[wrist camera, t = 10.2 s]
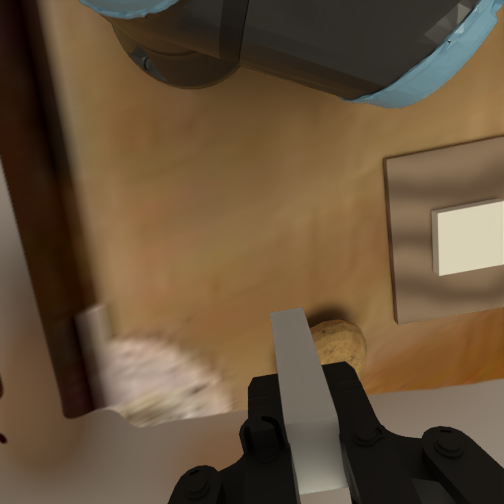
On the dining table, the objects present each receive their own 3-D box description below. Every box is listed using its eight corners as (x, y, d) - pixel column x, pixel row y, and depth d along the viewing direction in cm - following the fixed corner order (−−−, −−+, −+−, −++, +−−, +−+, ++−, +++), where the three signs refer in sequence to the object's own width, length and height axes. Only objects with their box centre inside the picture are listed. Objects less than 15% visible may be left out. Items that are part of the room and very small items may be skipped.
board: (382, 159, 43) (386, 159, 42) (520, 132, 42) (527, 132, 41) (394, 320, 50) (398, 325, 49) (512, 300, 49) (519, 304, 48)
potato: (374, 322, 50) (397, 357, 42) (319, 396, 54) (331, 439, 46) (315, 291, 48) (328, 321, 41) (262, 369, 52) (265, 409, 44)
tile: (437, 213, 42) (507, 200, 42) (430, 210, 44) (497, 198, 43) (439, 275, 45) (505, 264, 44) (432, 271, 46) (496, 259, 46)
